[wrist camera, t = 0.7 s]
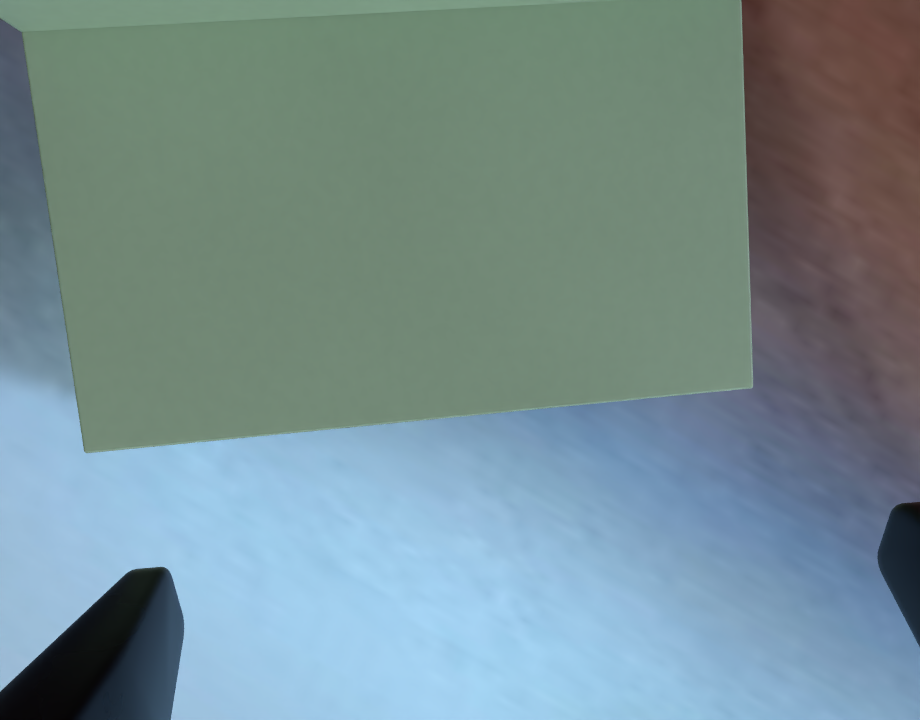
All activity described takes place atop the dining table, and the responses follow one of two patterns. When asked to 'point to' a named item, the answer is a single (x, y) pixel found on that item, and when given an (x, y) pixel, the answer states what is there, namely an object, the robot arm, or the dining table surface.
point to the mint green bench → (388, 207)
